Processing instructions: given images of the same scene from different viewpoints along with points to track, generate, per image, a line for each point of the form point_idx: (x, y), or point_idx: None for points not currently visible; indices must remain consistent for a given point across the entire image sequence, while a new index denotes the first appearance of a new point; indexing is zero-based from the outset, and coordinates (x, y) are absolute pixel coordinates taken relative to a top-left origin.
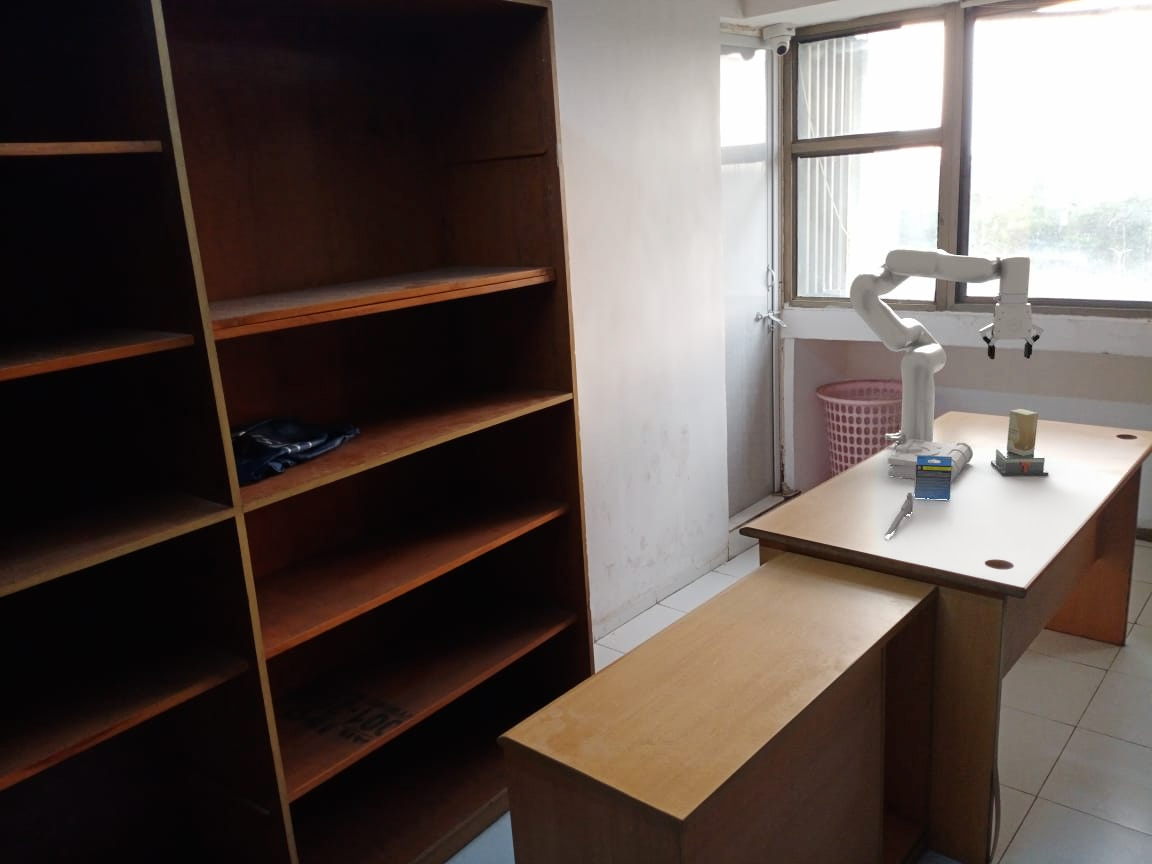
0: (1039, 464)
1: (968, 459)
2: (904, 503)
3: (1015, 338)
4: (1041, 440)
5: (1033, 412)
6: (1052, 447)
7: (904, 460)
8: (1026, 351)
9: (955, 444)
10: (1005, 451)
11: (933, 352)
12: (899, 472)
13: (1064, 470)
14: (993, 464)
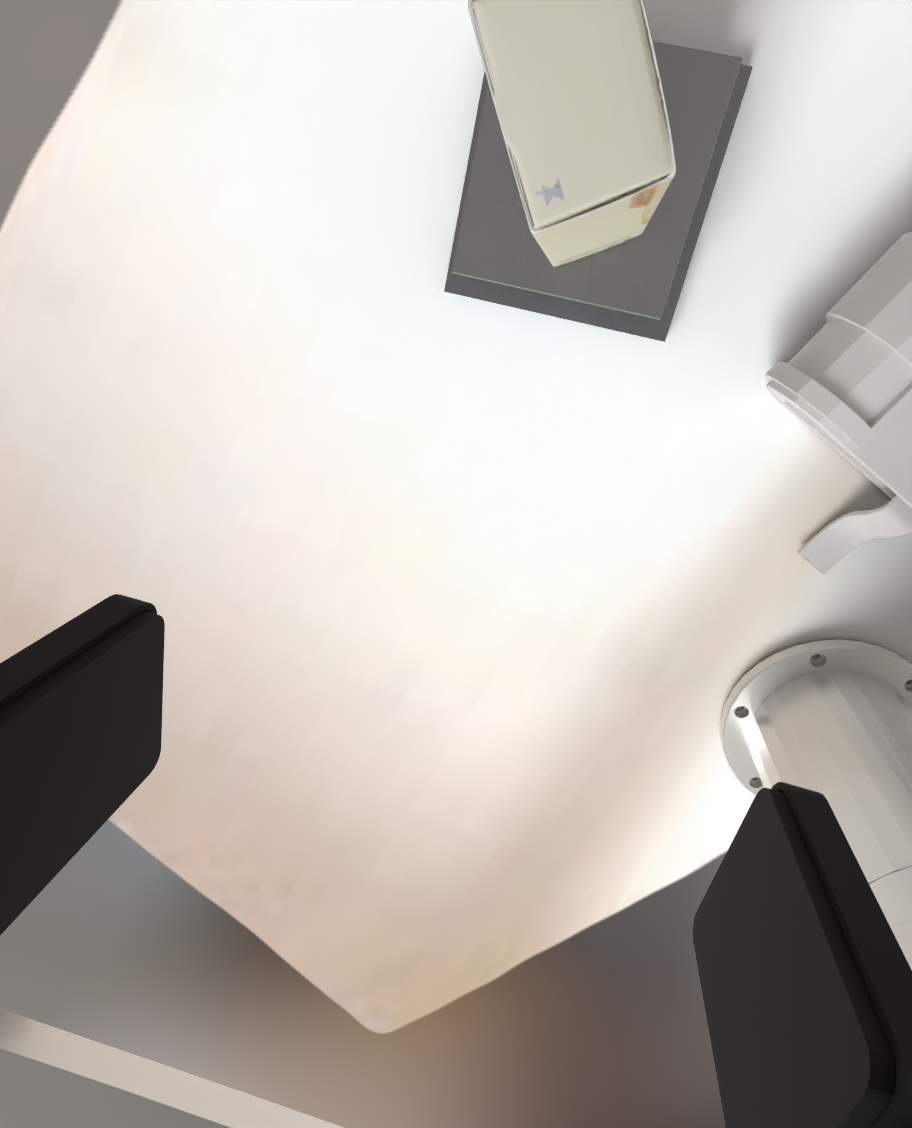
0: None
1: (857, 283)
2: None
3: (177, 1109)
4: (246, 635)
5: (506, 19)
6: (247, 529)
7: None
8: (80, 735)
9: (888, 420)
10: (648, 234)
11: None
12: None
13: (363, 128)
14: (681, 287)
